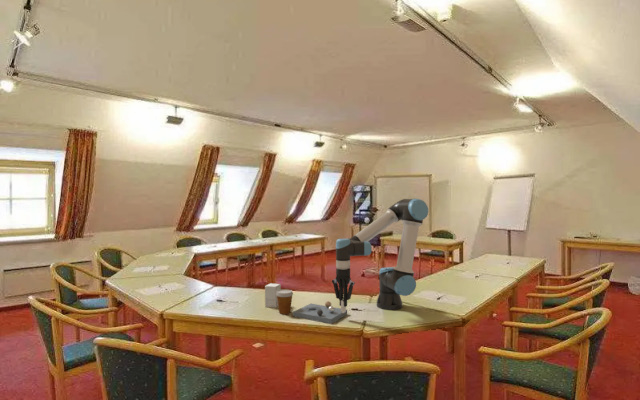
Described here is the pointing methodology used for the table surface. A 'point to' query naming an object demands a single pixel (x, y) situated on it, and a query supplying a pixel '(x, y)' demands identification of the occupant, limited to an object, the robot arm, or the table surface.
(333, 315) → the board
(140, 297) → the table surface
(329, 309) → the steel ball
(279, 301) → the disposable coffee cup
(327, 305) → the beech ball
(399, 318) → the table surface
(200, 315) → the table surface
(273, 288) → the supplement box
